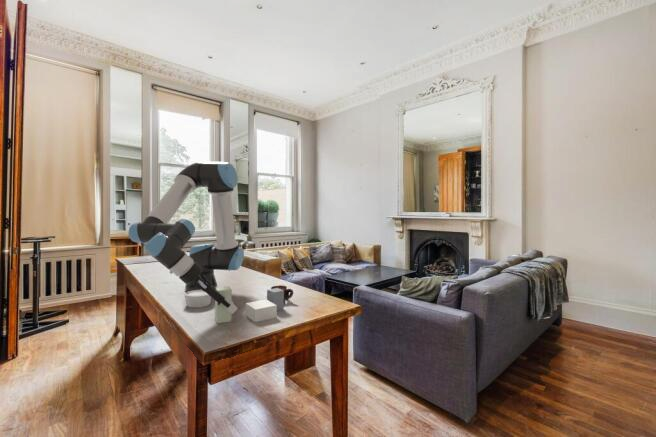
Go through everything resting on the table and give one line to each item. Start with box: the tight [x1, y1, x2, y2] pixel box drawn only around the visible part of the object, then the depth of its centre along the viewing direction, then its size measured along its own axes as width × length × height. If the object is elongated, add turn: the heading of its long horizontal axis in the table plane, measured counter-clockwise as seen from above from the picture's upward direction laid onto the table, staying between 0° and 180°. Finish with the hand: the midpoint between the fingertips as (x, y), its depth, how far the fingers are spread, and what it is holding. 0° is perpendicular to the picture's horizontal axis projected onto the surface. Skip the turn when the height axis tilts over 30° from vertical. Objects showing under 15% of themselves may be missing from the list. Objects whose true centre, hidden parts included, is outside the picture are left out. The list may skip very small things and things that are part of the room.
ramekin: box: [184, 290, 213, 309], centre depth 130 cm, size 11×11×5 cm
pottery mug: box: [270, 284, 294, 304], centre depth 139 cm, size 12×10×8 cm
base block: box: [244, 299, 278, 323], centre depth 118 cm, size 9×9×5 cm
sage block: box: [214, 285, 233, 324], centre depth 113 cm, size 5×5×12 cm
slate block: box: [266, 288, 285, 311], centre depth 127 cm, size 5×5×8 cm
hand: (233, 308), depth 115 cm, fingers closed on sage block, 5 cm apart
